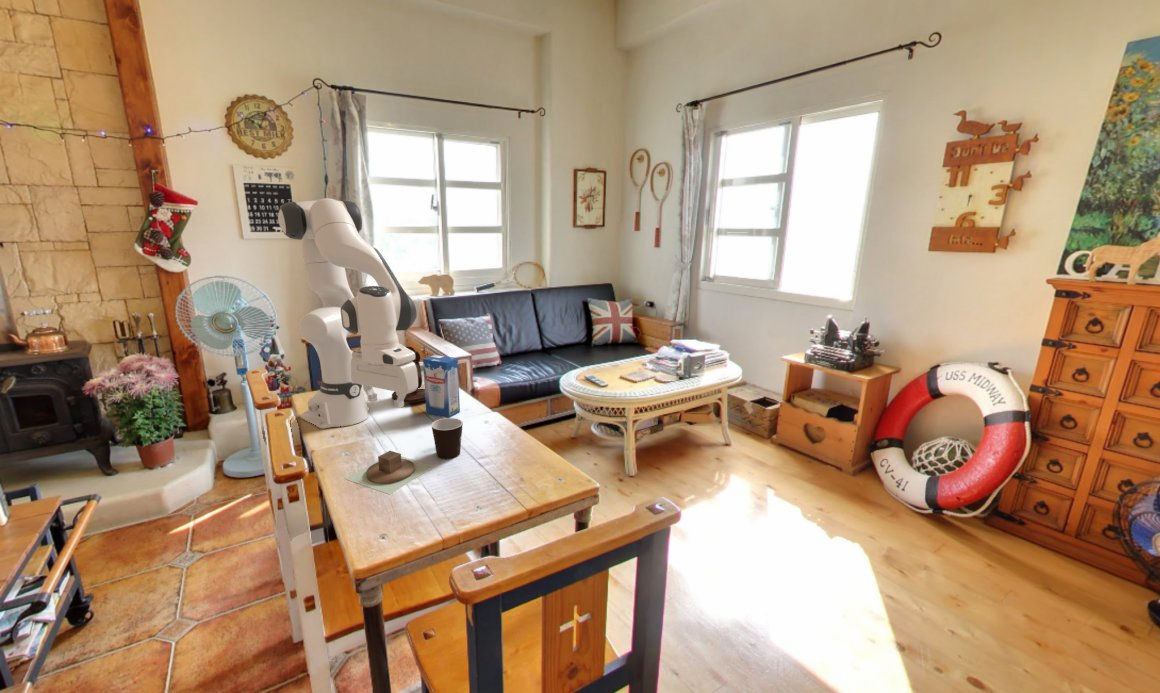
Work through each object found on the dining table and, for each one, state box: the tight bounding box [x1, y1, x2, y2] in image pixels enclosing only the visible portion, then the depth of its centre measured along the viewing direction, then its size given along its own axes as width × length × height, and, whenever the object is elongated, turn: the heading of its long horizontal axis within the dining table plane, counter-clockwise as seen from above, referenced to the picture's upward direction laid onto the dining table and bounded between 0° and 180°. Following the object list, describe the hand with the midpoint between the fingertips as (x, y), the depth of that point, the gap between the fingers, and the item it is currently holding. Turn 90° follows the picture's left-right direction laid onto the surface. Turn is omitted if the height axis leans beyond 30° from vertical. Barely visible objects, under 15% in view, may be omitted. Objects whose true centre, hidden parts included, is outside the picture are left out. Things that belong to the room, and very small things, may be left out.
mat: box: [344, 455, 435, 495], centre depth 129 cm, size 16×16×1 cm
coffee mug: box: [431, 417, 464, 460], centre depth 141 cm, size 12×9×10 cm
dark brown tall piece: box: [391, 346, 425, 405], centre depth 181 cm, size 15×15×20 cm
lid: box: [366, 450, 414, 484], centre depth 129 cm, size 12×12×5 cm
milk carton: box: [422, 354, 461, 418], centre depth 169 cm, size 10×6×20 cm, turn 67°
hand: (385, 403), depth 125 cm, fingers open, 8 cm apart
